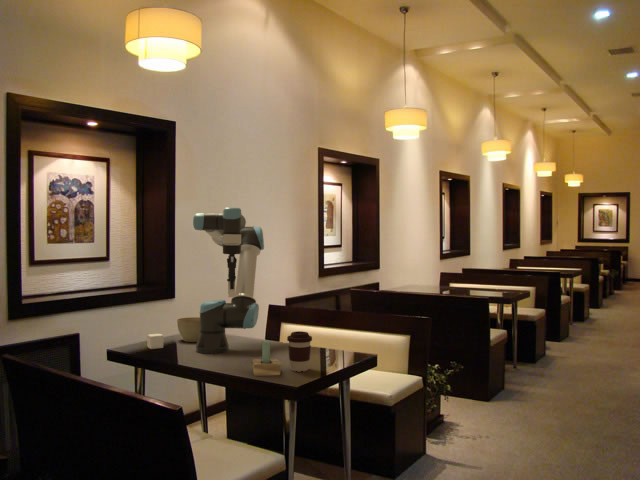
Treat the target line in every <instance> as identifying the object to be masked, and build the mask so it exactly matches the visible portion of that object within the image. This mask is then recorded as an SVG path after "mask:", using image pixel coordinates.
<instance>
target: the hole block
mask: <svg viewBox="0 0 640 480" xmlns="http://www.w3.org/2000/svg"><path fill="white" fill-rule="evenodd" d="M252 371H253V376H254V377H255V376H256V377H257V376H261V377H262V376H280V375H281V363H280V360H279V359H278V358H270V363H262V359H261V358H260V359H257V358H256V359H252Z"/></svg>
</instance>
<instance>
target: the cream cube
mask: <svg viewBox="0 0 640 480" xmlns="http://www.w3.org/2000/svg"><path fill="white" fill-rule="evenodd" d="M146 339H147V343H146V344H147V345H146V346H147V348H148V349H150V350H156V349H163V348H164V335H163V334H161V333H150V334H147V336H146Z"/></svg>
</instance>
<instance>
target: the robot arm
mask: <svg viewBox="0 0 640 480" xmlns="http://www.w3.org/2000/svg"><path fill="white" fill-rule="evenodd" d="M222 211H223V212H221V213H220V212H218V213H217V212H215V213H214V212H210V213H207V212H198V213H195V214H194V215H193V218H192V219H193V221H192V223H193V224H192V225H193V228H194V230H196V231H204V232H205V233H207V234H208V235H209V236H210V237H211V240H212V241H213V243H215V244H216V245H218V246H219V247H222V254H223V255H228V258H226V263H227V270H228V273H227V274H228V275H227V279H226V281H227V295H228V298H231V301H230V302H227V301H226V299H214V300H208V301H204V302H202V303H201V304H200V306H199V307H200V308H199V317H200V336H199V339H198V341H197V342H196V345H195V352H197V353H200V354H205V355H206V354H209V355H211V354H222V353H225V352H226V353H227V352H228V351H230V344H229V341H228V338H227V336H226V329H241V330H246V329H253V328H255V326H256V325H257V322H258V319H259V310H260V307H259V304H258V302H257V300H256V298H254V291H255V283H256V282H255V280H256V271H257V260H258V259H257V258H258V256H259V255H260V254H261V251H263V250H265V242H264V233H263V229H262V227H261V226H254V225H253V226H246V224H247V221H246V218H245V216H244V215H243V213H242V209H241V208H240V207H223V210H222ZM236 255H239V257H238V258H239V259H238V258H236ZM237 262H238V266H237ZM236 268H238V269H237V276H236Z"/></svg>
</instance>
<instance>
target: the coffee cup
mask: <svg viewBox="0 0 640 480" xmlns="http://www.w3.org/2000/svg"><path fill="white" fill-rule="evenodd" d="M286 340H287V342H288V359H289V369H290V371H292V372H296V371H297V372H299V373H300V372H301V371H303V372H307V371H308V370H309V364H310V359H311V342H312V341H313V336H311V335H310V334H309V332H307V331H293V332H291V333H290V335H287V337H286Z"/></svg>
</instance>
